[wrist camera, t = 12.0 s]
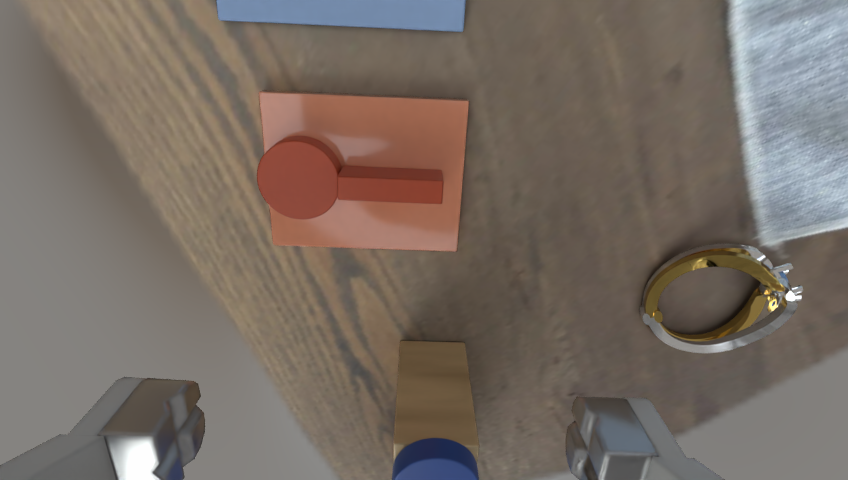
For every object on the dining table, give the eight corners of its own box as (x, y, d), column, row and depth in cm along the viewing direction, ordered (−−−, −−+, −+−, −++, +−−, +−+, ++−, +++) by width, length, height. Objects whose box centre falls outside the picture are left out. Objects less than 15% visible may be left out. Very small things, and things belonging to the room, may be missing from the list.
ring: (645, 344, 31) (785, 317, 28) (659, 379, 28) (817, 351, 26) (622, 253, 28) (774, 215, 26) (635, 281, 25) (807, 241, 23)
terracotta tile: (456, 246, 27) (457, 252, 26) (277, 239, 26) (272, 245, 26) (467, 98, 23) (468, 101, 23) (263, 89, 23) (258, 91, 22)
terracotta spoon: (443, 141, 23) (445, 151, 22) (439, 217, 25) (440, 232, 23) (260, 133, 23) (246, 142, 21) (267, 210, 25) (255, 224, 23)
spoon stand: (454, 448, 33) (464, 568, 26) (397, 447, 33) (390, 567, 25) (464, 341, 29) (479, 446, 22) (400, 339, 29) (393, 443, 22)
